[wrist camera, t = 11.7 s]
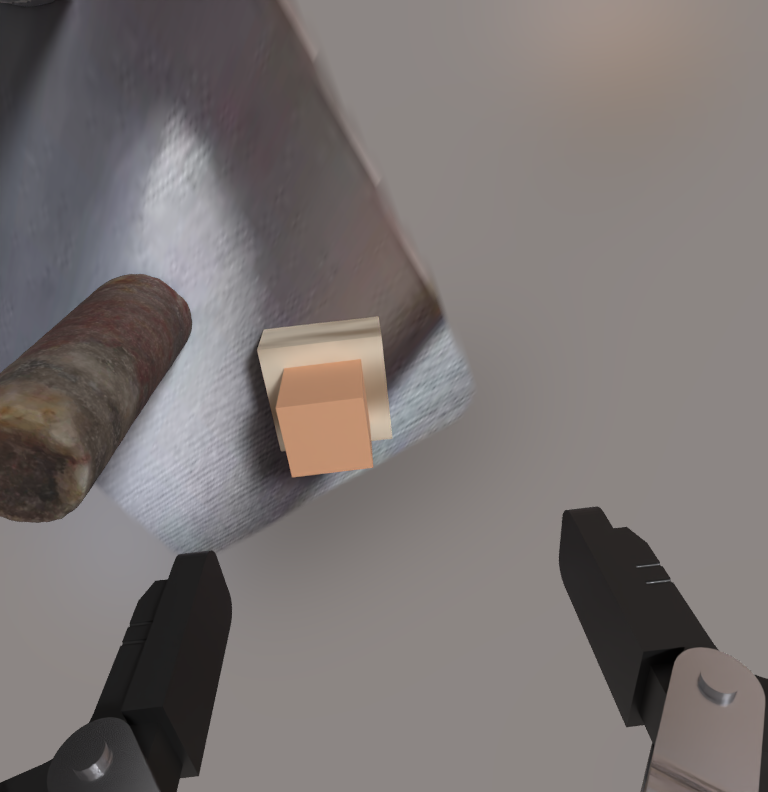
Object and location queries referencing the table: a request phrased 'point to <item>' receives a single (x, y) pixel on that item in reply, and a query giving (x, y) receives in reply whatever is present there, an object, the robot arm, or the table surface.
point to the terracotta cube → (325, 418)
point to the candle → (83, 393)
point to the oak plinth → (328, 347)
